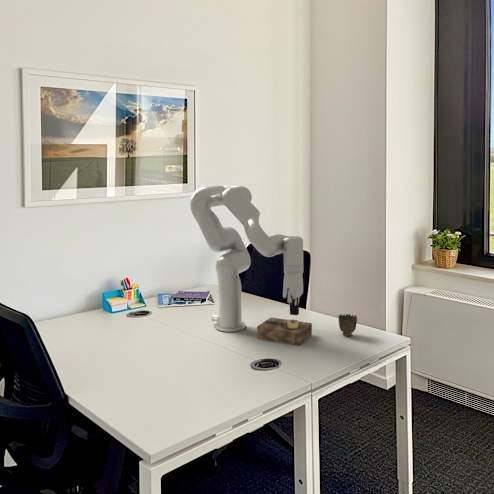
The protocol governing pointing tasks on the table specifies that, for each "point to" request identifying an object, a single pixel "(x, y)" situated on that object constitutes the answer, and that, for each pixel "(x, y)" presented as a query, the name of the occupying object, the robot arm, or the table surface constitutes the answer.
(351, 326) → the cup
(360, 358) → the table surface
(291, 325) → the cylinder
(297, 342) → the jig
